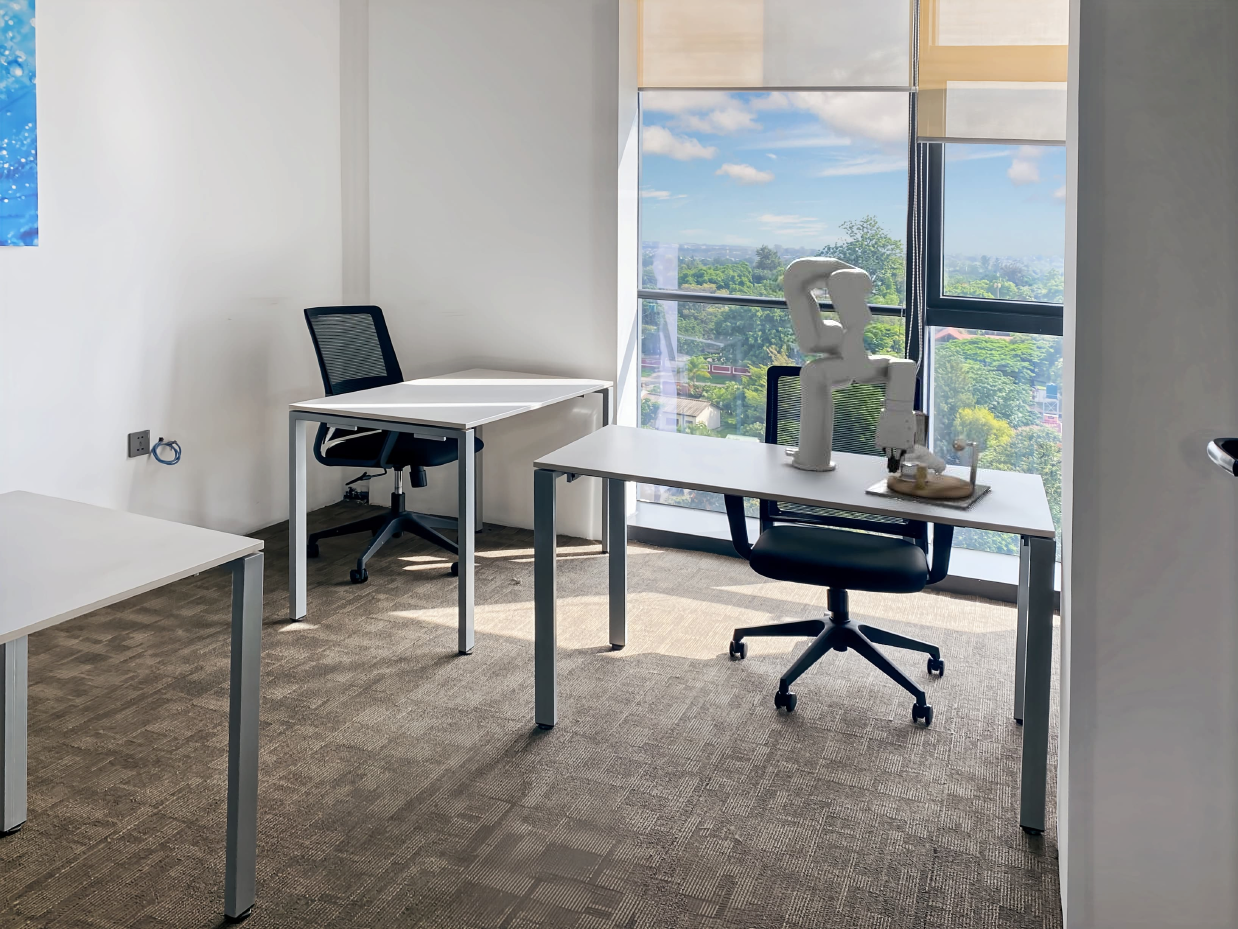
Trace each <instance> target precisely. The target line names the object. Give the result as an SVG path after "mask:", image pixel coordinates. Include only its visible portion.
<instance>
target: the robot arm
mask: <svg viewBox="0 0 1238 929" xmlns="http://www.w3.org/2000/svg"><path fill="white" fill-rule="evenodd" d="M873 286H874V285H873V280H872V278H871V276H870V274H869V273H867V271H866V270H864V269H861V268H858V266H854V265H852V264H849V263H846V262H844V261H841V260H839V259H836V258H832V257H803V258H799V259H796V260H794V261H793V262H791V263H790V264H789V265H788V266H787V268H786V269H785V270H784V273H783V277H782V283H781V288H782V292H783V296H784V300H785V302H786V304H787V307H788V311H789V314H790V320H791V324H792V329H793V333H794V336H795V340H796V345H797V347H798V349H799V351H800V352H801V353H802V354H805V355H808V356H809V355H810V356H813V355H822V357H818V358H813V359H810V360H809V361H806V362H805V363H804V364H803V365H802V367H801V369H800V371H799V384H800V391H801V392H800V397H801V400H800V417H799V433H798V447H797V448H796V449H792V448H786V449H785V451H784V454H785V456H786V457H793V460H791V466H793V467H794V468H796V467H797V468H796V469H799V468H800V470H804V469H805V471H811V470H815V471H814V472H824V471H825V470H827V471H831V470H832V471H833V470H834V469H835V468H836V462H834V461H832V459H831V456H832V449H833V448H832V447H833V446H832V445H833V434H834V418H835V400H834V397H833V394H832V391H836V390H843V389H846V388H848V387H850V385H851V384H852V383H853V381H854V382H856V383H857V384H860V385H863V386H867V385H868V386H869V385H874V384H885V383H886V385H885V394H884V398H882V399H879V405H882V406H883V408H881V409H880V411H879V415H878V419H877V424H876V430H875V437H874V443H875V445H874V447H875V449H876V450H879V451H882V452H883V454H884V455H885V456H886V458H887V463H886V469H887V470H888V473H889V474H894V473H896V472H899V470H901V467H900V458H901V457H902V456H904V455H905V454H912V453H914V452H915V444H916V414H915V412H914V411H913V410H914V404H915V393H916V384H917V383H916V382H917V372H918V365H917V363H916V361H914V360H912V359H905V358H897V357H893V356H891V355H886V354H882V355H881V354H880V355H879V354H878V355H871V356H870V355H869V354H868V351H867V350H866V347H865V345H864V340H863V339H864V338H863V336H864V335H863V334H864V331H865V328H866V327H867V326H869V325H870V323H871V322H872V321H873V315H872V312H871V309H870V308H869V305H868V302H867V301H866V299H867V298H868V297H869V296H870V295H871V293H872V292H873ZM811 289H826V292H827V294H828V296H829V298H830V301H831V304H832V307H833V309H834V310H835V313H836V316H837V317H838V320H839V322H840V323H838V322H837V321H834V320H824V319H823V317H822V313H821V308H820V305H819V302H818V301H817V299H816V297H815V295H814V294H813V293H812V292H811ZM894 449H897V450H896V451H895V450H894ZM816 470H817V471H816ZM823 470H824V471H823Z"/></svg>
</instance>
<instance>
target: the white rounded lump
mask: <svg viewBox="0 0 1238 929" xmlns="http://www.w3.org/2000/svg"><path fill="white" fill-rule="evenodd" d="M905 462H919V463H924V464H927V465H928V470H933V471H934V473H938V474H942V473H944V472H945V471H946V469H947V462H946V461H945V460H944V459H942V458H939V457H936V456H935V455H934V454H933V452H931V451H930V450H929V449H928V448H927V447H926V448H925V447H924V446H922V445H919V444H915V452H914V453H912V454H905Z"/></svg>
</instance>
